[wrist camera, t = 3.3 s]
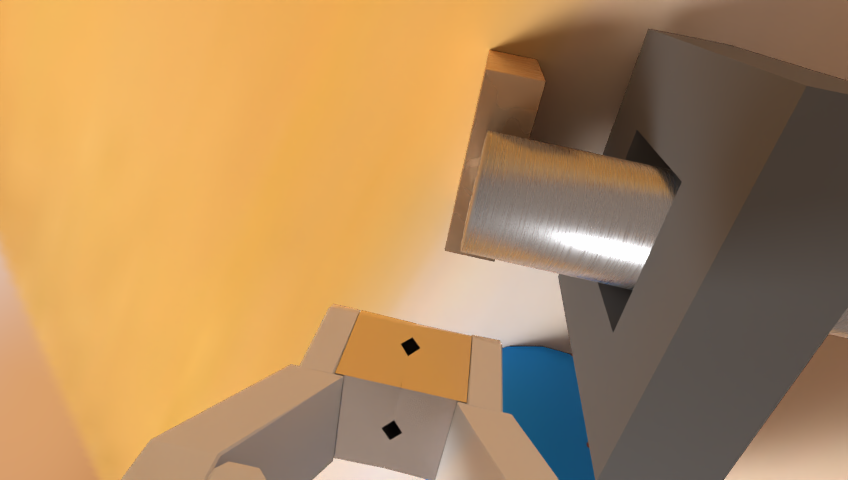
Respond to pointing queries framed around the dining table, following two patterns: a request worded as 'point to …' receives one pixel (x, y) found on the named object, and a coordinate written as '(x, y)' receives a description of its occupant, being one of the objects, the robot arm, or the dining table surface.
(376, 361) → the robot arm
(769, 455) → the dining table surface
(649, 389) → the collar
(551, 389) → the thermos
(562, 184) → the pipe rig
